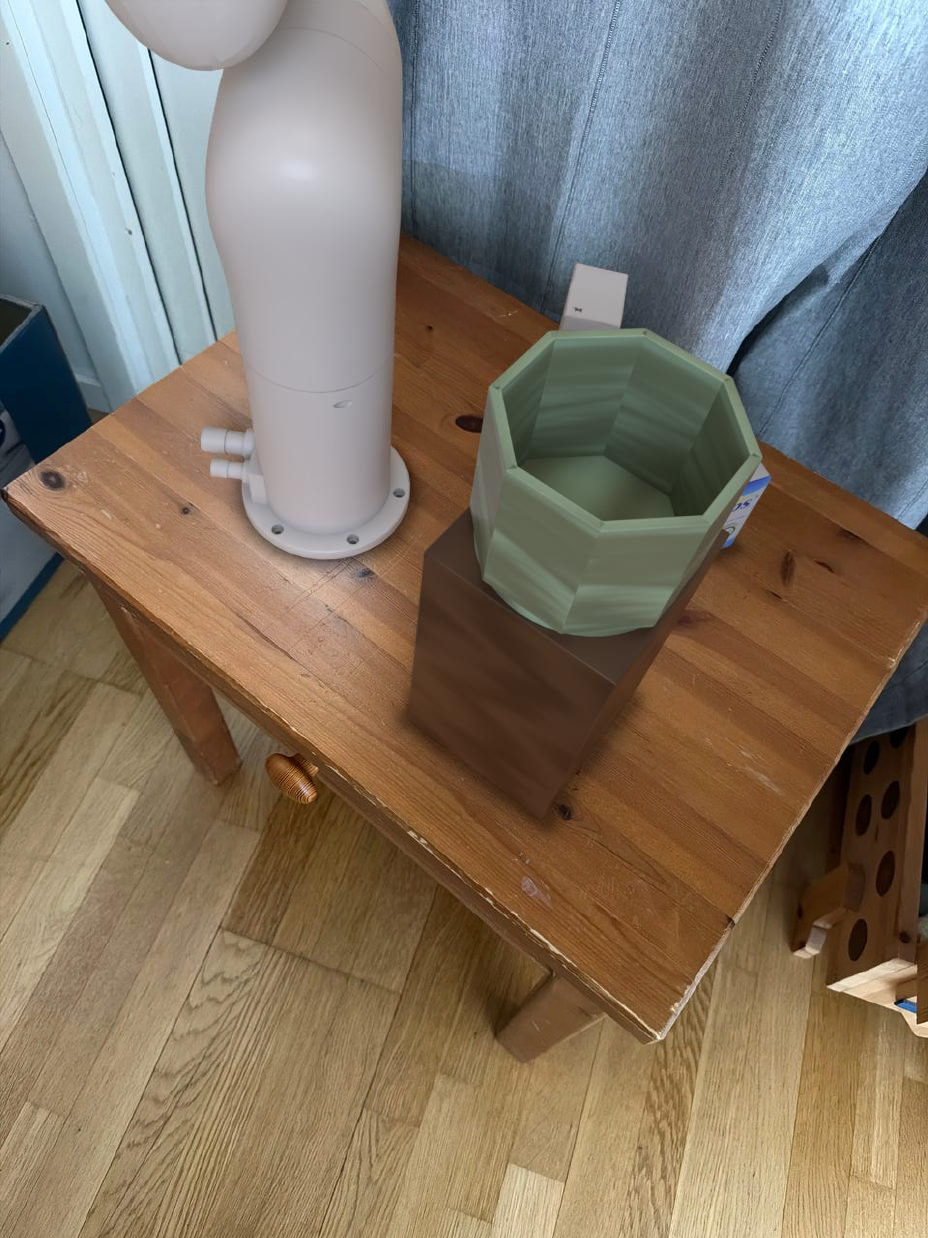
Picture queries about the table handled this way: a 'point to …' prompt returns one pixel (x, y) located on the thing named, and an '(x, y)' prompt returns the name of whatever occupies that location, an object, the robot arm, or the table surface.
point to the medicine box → (746, 503)
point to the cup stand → (574, 550)
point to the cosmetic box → (594, 299)
